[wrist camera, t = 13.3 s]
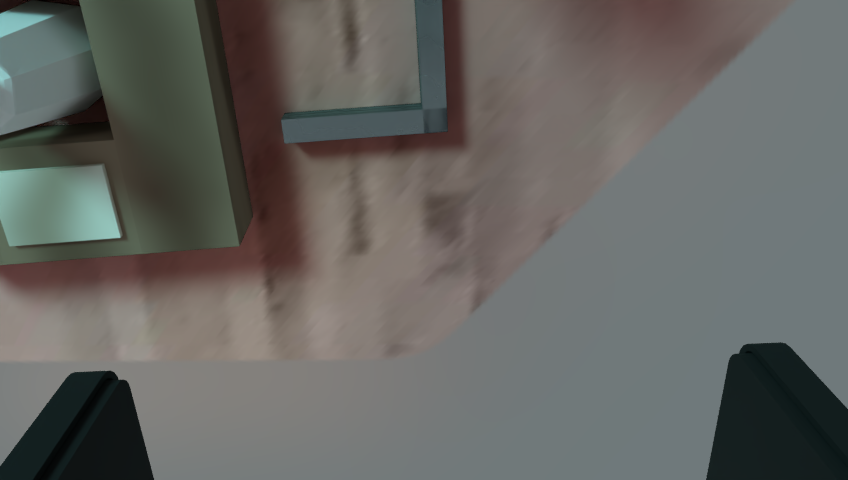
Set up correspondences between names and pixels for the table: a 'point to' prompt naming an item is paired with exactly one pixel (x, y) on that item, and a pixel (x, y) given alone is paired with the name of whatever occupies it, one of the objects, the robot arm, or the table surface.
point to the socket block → (133, 146)
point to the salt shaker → (44, 65)
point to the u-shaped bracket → (391, 117)
